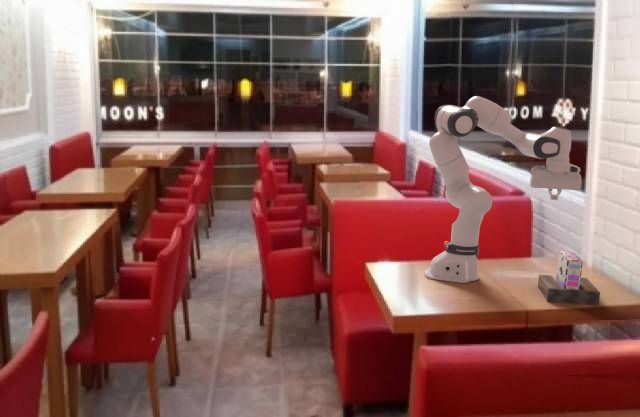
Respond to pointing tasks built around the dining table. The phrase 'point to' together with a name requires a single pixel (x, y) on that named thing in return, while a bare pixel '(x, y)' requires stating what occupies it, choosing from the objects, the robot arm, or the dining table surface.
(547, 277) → the cradle
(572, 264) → the candy box
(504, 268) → the dining table surface
